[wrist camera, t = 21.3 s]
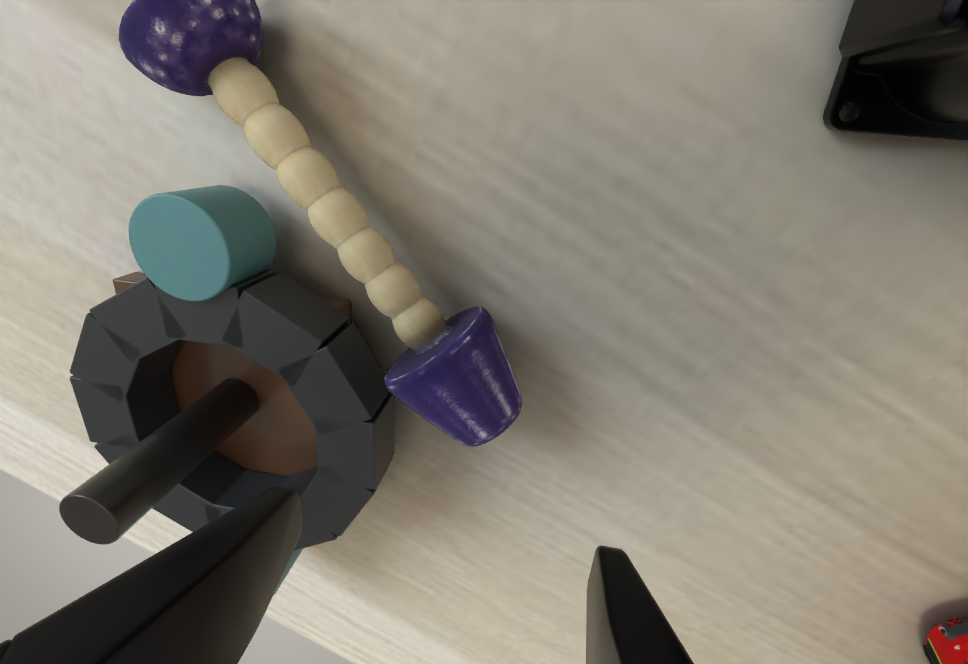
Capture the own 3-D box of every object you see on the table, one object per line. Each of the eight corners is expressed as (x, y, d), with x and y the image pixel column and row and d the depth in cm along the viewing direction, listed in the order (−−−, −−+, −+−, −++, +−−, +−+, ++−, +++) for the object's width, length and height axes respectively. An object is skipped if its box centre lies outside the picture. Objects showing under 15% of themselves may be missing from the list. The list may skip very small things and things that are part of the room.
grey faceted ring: (393, 202, 16) (363, 214, 14) (394, 574, 24) (375, 627, 21) (70, 169, 18) (-12, 175, 15) (168, 532, 25) (124, 576, 23)
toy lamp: (194, 83, 17) (466, 410, 21) (68, 76, 13) (435, 484, 17) (269, -19, 15) (554, 363, 19) (147, -66, 11) (543, 433, 15)
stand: (350, 298, 19) (213, 406, 12) (358, 484, 23) (260, 656, 16) (134, 271, 20) (-124, 353, 13) (177, 453, 24) (1, 600, 17)
